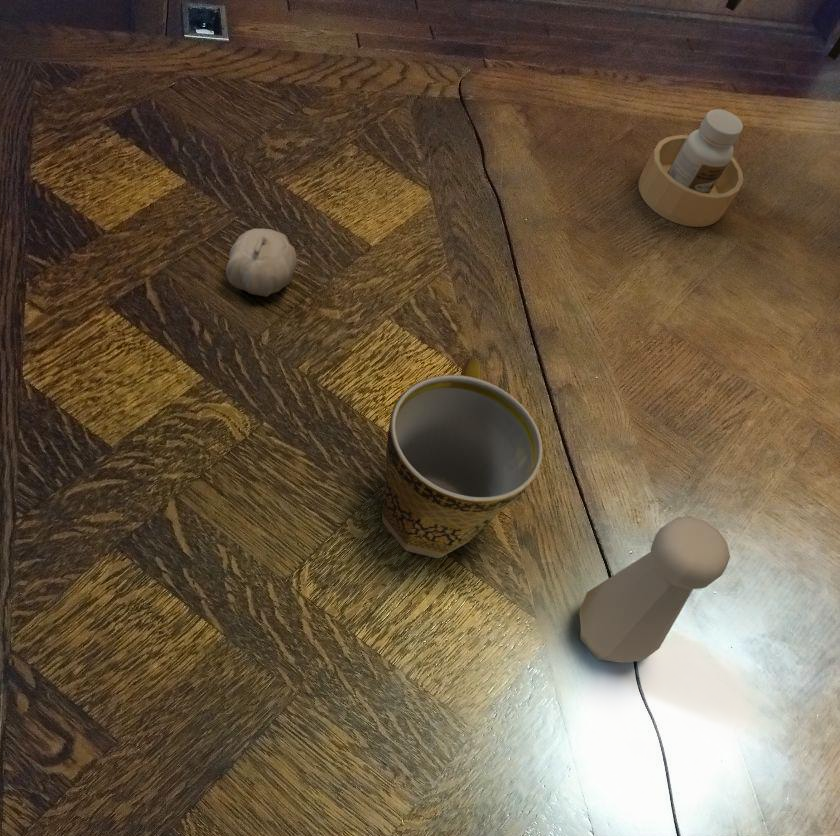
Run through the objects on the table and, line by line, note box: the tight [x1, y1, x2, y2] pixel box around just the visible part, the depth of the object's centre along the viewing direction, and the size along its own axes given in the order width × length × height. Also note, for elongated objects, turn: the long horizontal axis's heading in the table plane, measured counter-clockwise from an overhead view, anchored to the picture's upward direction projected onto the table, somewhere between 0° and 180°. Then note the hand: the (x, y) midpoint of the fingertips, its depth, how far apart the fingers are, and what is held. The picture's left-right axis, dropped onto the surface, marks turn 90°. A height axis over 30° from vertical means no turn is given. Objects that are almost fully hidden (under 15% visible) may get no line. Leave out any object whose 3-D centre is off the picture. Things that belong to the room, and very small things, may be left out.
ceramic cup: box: [381, 357, 543, 559], centre depth 68 cm, size 13×10×10 cm
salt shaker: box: [578, 515, 731, 664], centre depth 63 cm, size 6×6×13 cm
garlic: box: [225, 227, 297, 298], centre depth 78 cm, size 6×5×5 cm
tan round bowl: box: [637, 134, 744, 228], centre depth 93 cm, size 9×9×4 cm
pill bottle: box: [668, 108, 744, 193], centre depth 91 cm, size 4×4×8 cm
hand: (782, 29), depth 76 cm, fingers open, 8 cm apart
